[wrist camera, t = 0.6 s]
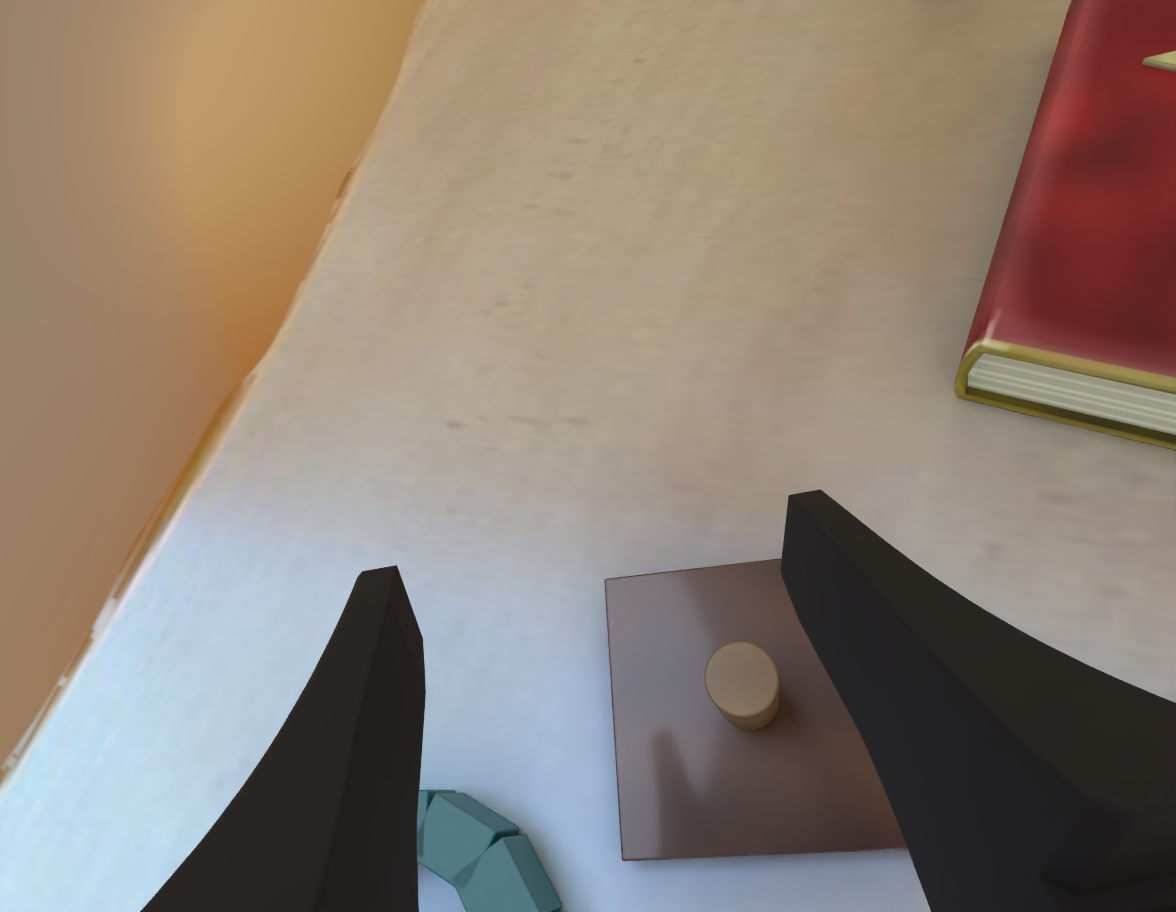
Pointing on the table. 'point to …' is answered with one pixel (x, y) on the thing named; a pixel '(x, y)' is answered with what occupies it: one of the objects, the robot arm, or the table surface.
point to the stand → (732, 724)
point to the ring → (481, 855)
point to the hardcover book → (1090, 238)
